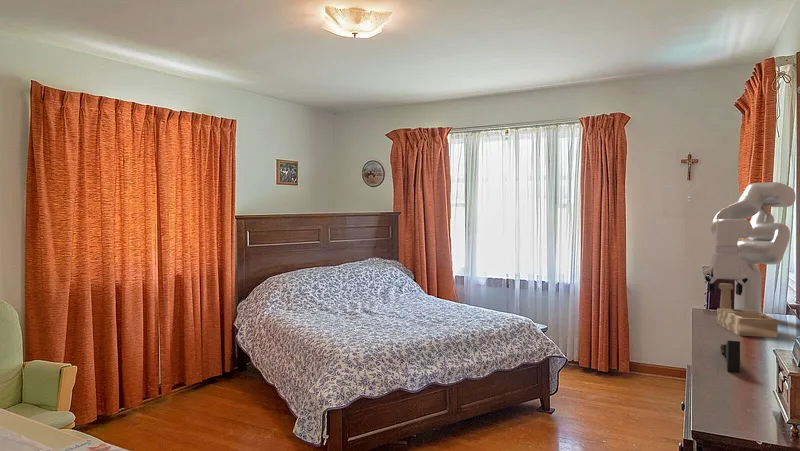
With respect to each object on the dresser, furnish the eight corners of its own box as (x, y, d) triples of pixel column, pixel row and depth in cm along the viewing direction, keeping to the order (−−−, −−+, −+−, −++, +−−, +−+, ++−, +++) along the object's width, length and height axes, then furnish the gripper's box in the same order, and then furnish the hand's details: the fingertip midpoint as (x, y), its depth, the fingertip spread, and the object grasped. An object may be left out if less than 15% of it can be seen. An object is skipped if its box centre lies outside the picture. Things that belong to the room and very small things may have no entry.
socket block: (716, 323, 211) (717, 308, 211) (750, 325, 209) (751, 309, 209) (739, 335, 191) (739, 318, 191) (777, 337, 189) (777, 319, 189)
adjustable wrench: (729, 369, 167) (740, 373, 145) (719, 367, 168) (728, 372, 146) (729, 341, 169) (740, 341, 146) (719, 340, 170) (728, 340, 148)
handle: (733, 321, 215) (734, 284, 215) (731, 324, 210) (732, 285, 210) (719, 320, 218) (720, 283, 218) (717, 322, 213) (717, 284, 213)
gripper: (746, 250, 216) (744, 294, 216) (699, 249, 219) (697, 291, 219) (755, 251, 208) (753, 296, 208) (706, 250, 211) (704, 294, 211)
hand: (725, 294), depth 213 cm, fingers open, 9 cm apart
